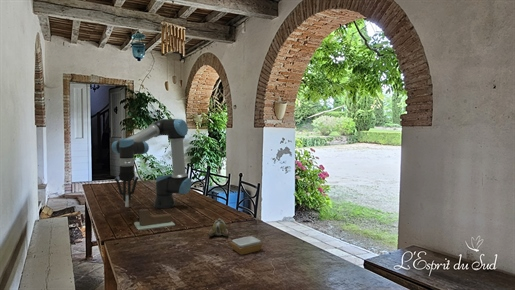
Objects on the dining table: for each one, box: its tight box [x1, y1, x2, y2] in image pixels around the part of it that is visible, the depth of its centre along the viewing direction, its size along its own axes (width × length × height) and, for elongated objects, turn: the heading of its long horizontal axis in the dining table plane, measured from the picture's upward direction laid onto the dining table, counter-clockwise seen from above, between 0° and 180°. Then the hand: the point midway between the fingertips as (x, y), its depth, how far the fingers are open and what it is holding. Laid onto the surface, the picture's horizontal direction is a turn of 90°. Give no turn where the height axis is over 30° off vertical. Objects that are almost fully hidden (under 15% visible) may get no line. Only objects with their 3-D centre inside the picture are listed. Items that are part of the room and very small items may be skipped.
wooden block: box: [138, 208, 172, 226], centre depth 195 cm, size 9×4×18 cm
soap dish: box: [230, 235, 264, 256], centre depth 155 cm, size 12×10×5 cm
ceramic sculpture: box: [208, 217, 229, 237], centre depth 177 cm, size 11×9×15 cm
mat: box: [133, 220, 176, 231], centre depth 195 cm, size 21×15×1 cm
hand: (126, 206), depth 187 cm, fingers closed
